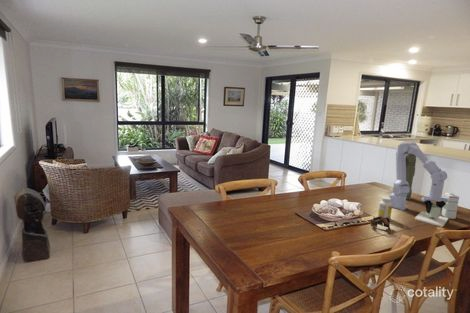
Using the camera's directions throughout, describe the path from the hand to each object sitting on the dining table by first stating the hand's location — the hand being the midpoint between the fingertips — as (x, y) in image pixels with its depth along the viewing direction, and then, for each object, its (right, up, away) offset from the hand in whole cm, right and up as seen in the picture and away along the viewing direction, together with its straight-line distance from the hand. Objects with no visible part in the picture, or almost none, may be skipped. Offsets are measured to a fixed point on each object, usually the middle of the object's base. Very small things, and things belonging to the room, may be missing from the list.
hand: (432, 212), depth 171 cm
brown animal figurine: (-38, -6, -15) cm, 42 cm away
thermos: (+6, +3, +40) cm, 41 cm away
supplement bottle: (-29, -4, 0) cm, 29 cm away
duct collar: (0, -2, 0) cm, 2 cm away
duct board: (0, -4, +1) cm, 4 cm away
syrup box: (+14, -4, +6) cm, 16 cm away
